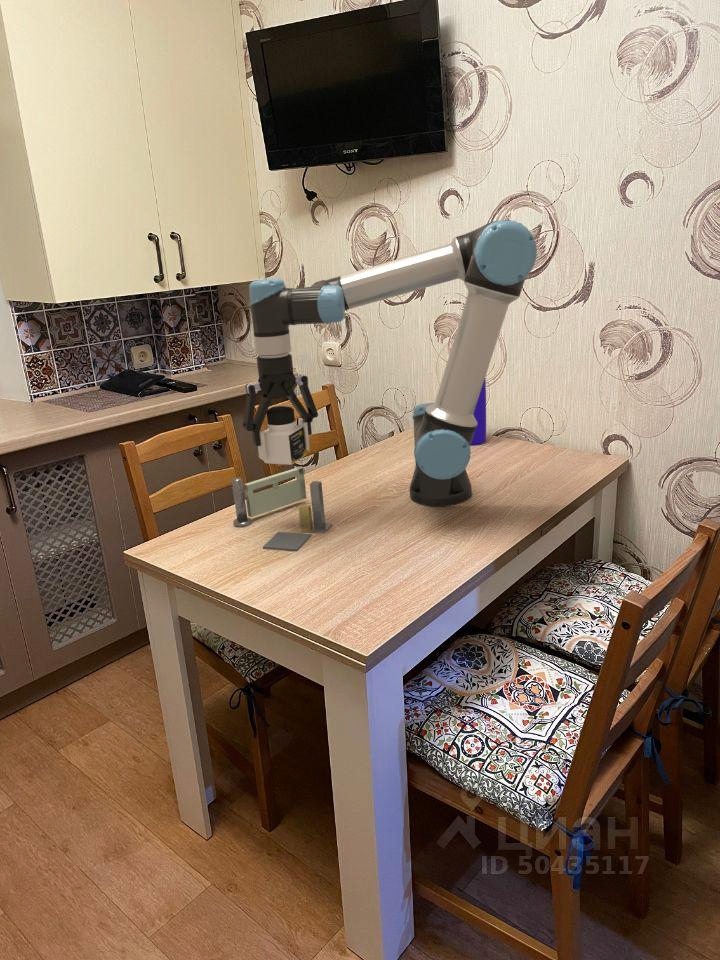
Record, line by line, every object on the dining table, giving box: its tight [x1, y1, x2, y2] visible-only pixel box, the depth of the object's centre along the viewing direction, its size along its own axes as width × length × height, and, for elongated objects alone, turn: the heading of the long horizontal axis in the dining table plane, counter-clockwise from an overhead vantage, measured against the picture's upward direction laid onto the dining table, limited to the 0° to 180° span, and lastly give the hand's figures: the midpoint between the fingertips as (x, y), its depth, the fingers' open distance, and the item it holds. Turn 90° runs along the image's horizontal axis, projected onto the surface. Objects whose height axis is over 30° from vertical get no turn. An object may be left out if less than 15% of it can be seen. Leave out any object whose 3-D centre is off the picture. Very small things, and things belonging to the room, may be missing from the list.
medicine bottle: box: [262, 405, 307, 466], centre depth 157 cm, size 7×7×12 cm
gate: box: [243, 466, 307, 518], centre depth 170 cm, size 16×1×8 cm, turn 129°
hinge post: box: [231, 476, 253, 528], centre depth 164 cm, size 4×4×11 cm
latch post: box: [298, 480, 333, 534], centre depth 158 cm, size 6×4×11 cm
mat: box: [262, 531, 312, 552], centre depth 154 cm, size 8×8×1 cm
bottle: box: [470, 378, 487, 446], centre depth 208 cm, size 8×8×30 cm
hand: (284, 454), depth 158 cm, fingers closed on medicine bottle, 10 cm apart
